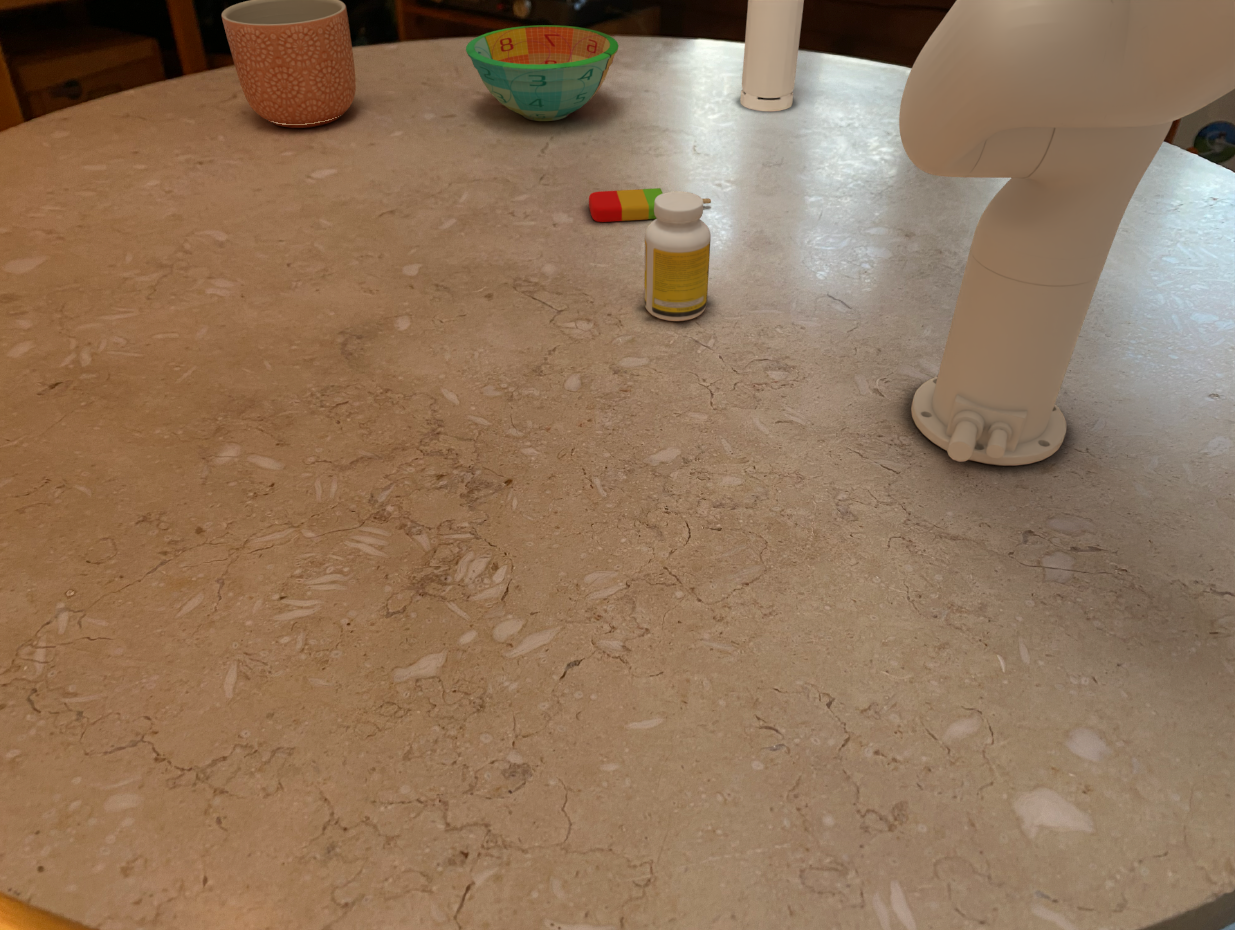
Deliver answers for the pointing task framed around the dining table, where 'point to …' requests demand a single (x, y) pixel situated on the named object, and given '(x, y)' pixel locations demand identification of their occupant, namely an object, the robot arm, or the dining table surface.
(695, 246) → the pill bottle
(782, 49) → the bottle
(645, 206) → the popsicle
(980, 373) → the robot arm
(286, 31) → the planter
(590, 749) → the dining table surface
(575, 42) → the bowl
